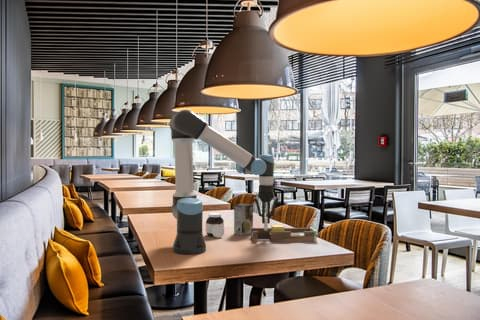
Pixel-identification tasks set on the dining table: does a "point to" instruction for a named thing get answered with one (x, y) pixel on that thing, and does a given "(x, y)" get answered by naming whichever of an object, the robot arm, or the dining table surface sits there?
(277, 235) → the box
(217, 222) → the spread jar
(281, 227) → the block
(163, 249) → the dining table surface
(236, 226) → the coffee box
